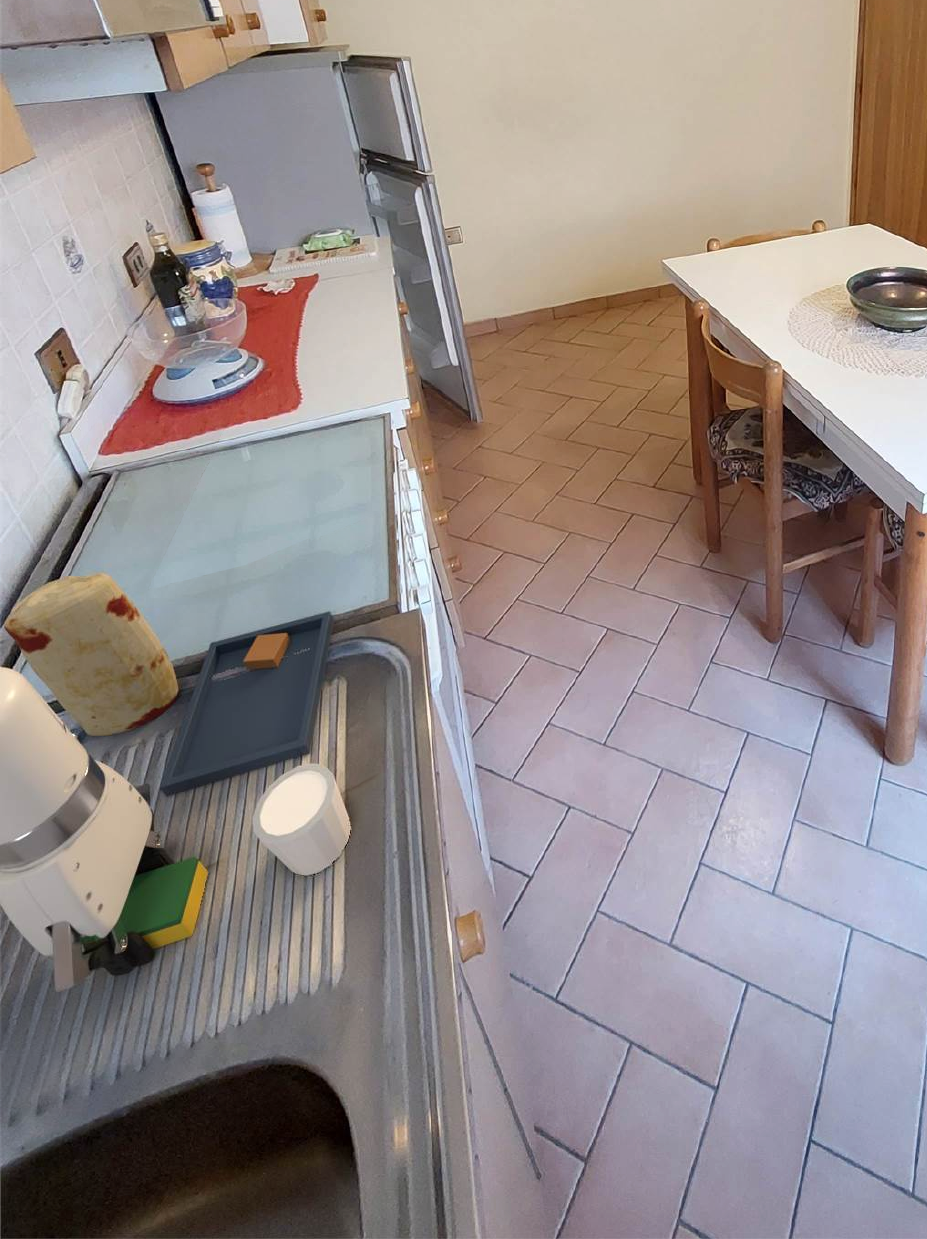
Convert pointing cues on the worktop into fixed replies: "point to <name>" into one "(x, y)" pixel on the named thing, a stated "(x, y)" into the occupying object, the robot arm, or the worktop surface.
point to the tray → (251, 708)
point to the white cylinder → (303, 819)
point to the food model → (94, 653)
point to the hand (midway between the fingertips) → (147, 918)
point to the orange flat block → (267, 651)
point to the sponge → (165, 902)
